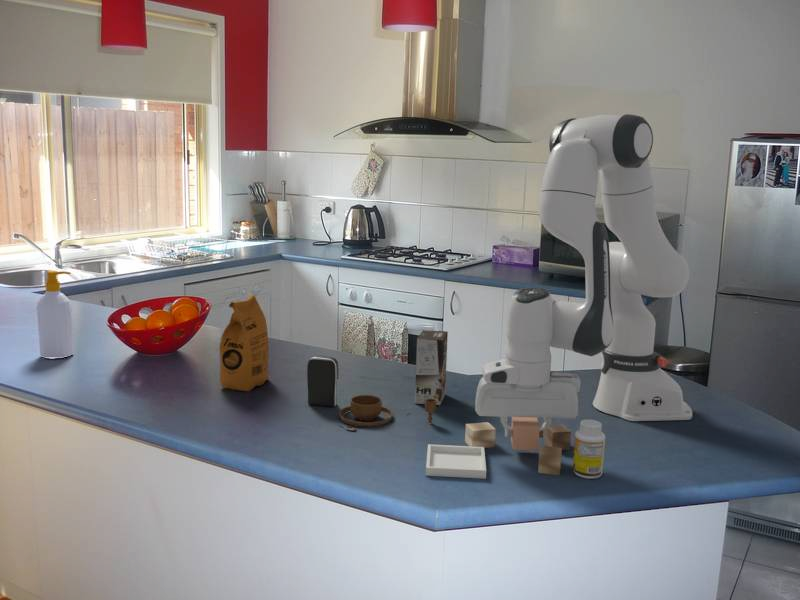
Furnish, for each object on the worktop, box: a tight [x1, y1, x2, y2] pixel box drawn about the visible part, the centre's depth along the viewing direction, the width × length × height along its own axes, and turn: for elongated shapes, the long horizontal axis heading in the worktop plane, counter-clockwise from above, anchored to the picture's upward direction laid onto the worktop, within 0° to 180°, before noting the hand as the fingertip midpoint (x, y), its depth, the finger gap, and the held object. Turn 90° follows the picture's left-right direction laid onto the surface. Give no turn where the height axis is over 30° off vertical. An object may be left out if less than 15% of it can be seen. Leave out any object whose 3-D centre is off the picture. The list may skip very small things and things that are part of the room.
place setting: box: [339, 394, 437, 432], centre depth 171 cm, size 18×20×6 cm
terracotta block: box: [510, 417, 541, 451], centre depth 155 cm, size 5×5×5 cm
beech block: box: [464, 421, 496, 449], centre depth 160 cm, size 5×4×4 cm
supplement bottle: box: [572, 419, 606, 480], centre depth 146 cm, size 6×6×10 cm
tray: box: [425, 443, 487, 480], centre depth 150 cm, size 11×11×2 cm
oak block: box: [537, 445, 563, 476], centre depth 148 cm, size 4×4×4 cm
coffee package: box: [219, 294, 269, 392], centre depth 193 cm, size 10×12×22 cm
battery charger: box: [306, 355, 339, 408], centre depth 181 cm, size 7×4×11 cm, turn 75°
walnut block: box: [544, 424, 572, 451], centre depth 160 cm, size 4×4×4 cm
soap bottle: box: [36, 270, 75, 357], centre depth 213 cm, size 9×9×24 cm
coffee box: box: [414, 329, 449, 406], centre depth 186 cm, size 9×6×16 cm
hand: (524, 436), depth 155 cm, fingers closed on terracotta block, 5 cm apart
